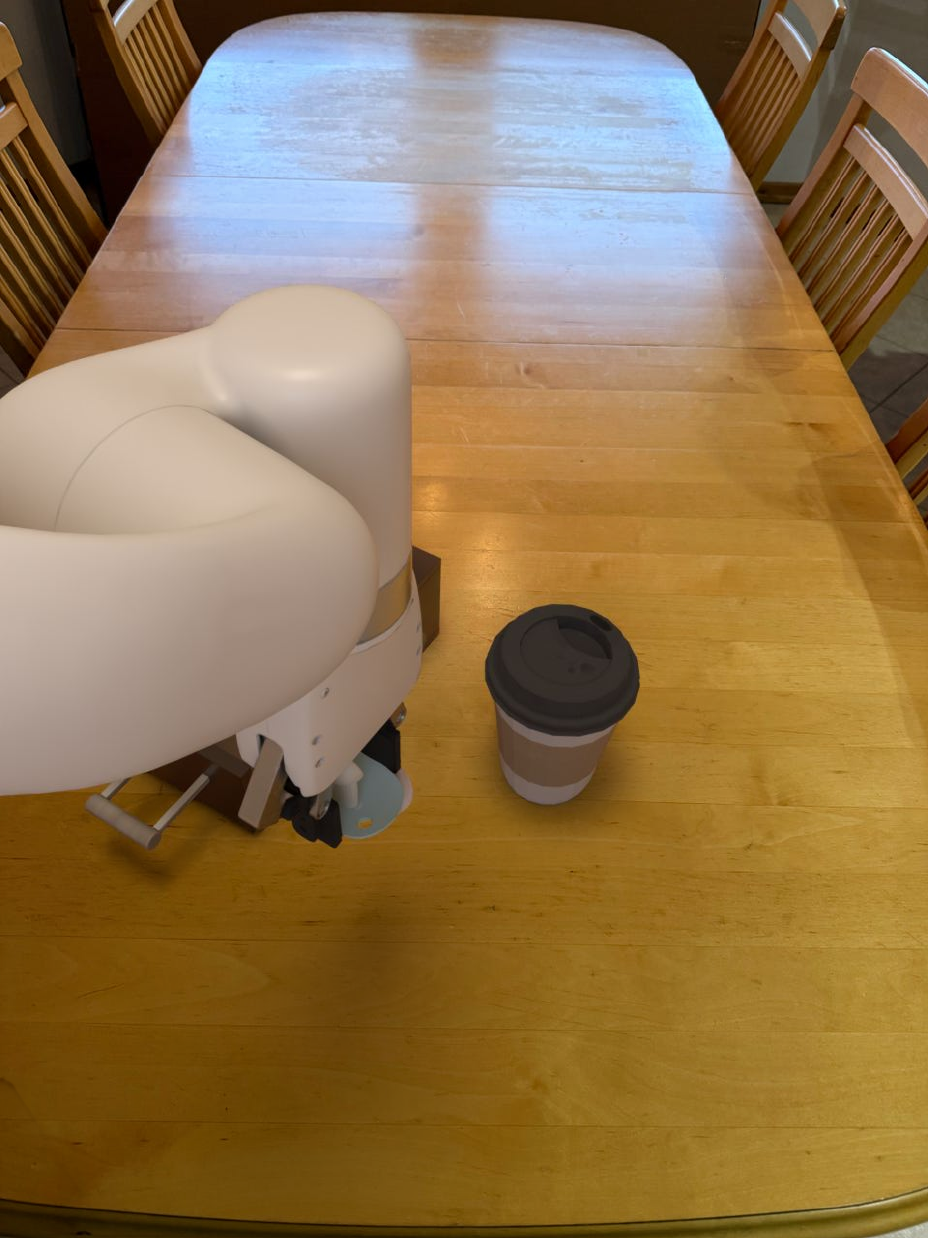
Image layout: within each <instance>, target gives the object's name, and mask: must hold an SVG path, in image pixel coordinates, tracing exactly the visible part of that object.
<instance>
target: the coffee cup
mask: <svg viewBox="0 0 928 1238" xmlns="http://www.w3.org/2000/svg"><path fill="white" fill-rule="evenodd" d="M484 660H485V661H484V682H485V684H486V686H487V689H488V691H489V693H490V695H491V699H492V700H493V704H494V714H495V724H496V733H497V742H498V751H499V760H500V761H499V762H500V768H501V769H502V772H503V776H504V777H505V779H506V782H507V784H508V785H509V786H510V788H511V789H512V790H513V792H515V794H516V795H518V796H520V797H522V798H523V799H524V800H526V801H528V802H531V803H535V804H538V805H548V806H555V805H559V804H564V803H567V802H569V801H571V800H572V799H574V798H576V797H577V796H578V795H579V794H580V793H581V792H582V791H583V790H584V789H585V788H586V786H587V785H588V783H589V782H590V781H591V779H592V777H593V775H594V773H595V771H596V768H597V767H598V764H599V763H600V760H601V758H602V756H603V754H604V753H605V751H606V748H607V746H608V744H609V742H610V740H611V738H612V736H613V734H614V731H615V730H616V728H617V725H618V723H619V722H620V721H622V720H623V719H624V718H625V717H626V715H627V714H628V713H629V712H630V710H631V709H632V708H633V707H634V705H635V704H636V701H637V698H638V693H639V690H640V686H641V681H640V680H641V679H640V678H641V675H640V668H639V667H640V666H639V660H638V657H637V654H636V653H635V650H633V647H632V646H631V643H630V642H629V640H628V639H627V638H626V637H625V636H624V634H623V633H622V630H620V628H619V627H617V626H616V625H615V624H614V623H613V622H612V621H611V620H610V619H609V618H607V617H605V616H603V615H602V614H600V613H598V612H596V611H595V610H593V609H590V608H586V607H584V606H583V607H582V606H578V605H575V604H566V603H550V604H546V605H540V606H536V607H533V608H531V609H528V610H527V611H525V612H523V613H521V614H519V615H518V616H516V618H515V619H513V620H511V621H509V622H508V623H507V624H506V625H505V626H504V627H503V628H502V629H501V630H500V631H499V632H498V633H497V634H496V635H495V636H494V638H493V640H492V643H491V645H490V647H489V650H488V651H487V656H486V658H485V659H484Z"/></svg>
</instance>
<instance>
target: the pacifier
mask: <svg viewBox="0 0 928 1238" xmlns="http://www.w3.org/2000/svg"><path fill="white" fill-rule="evenodd" d="M413 796H414V788H413V784H412V780H411V779H410V777H409V775H408V773H407V771H406V770H405V769H404V768H403V766H401V769H400V770H399V771H398V772H397V773H396V774H395V773H394V774H393V773H392V772H391V771H390V770H388V769H387V768H386V767H385V766H383V765H382V764H381V763H379V762H377V761H375V760H373V759H371V758H369V757H368V756H366V755H365V754H363V753H362V752H359V754H358V755H357V756H356V757H355V758H354V759H353V760H352V762H351V763H350V764H349V765H348V766H347V767H346V768H345V769H344V771H343V772H342V773H341V774H340V775H339V776H338V777H337V778H336V779H335V781H334V782H333V788H332V795H331V798H332V799H333V800H335V801H336V802H337V803H338V804H339V808H340V818H341V827H342V836H344V837H346V838H349V839H354V840H362V839H368V838H371V837H374V836H377V835H378V834H379V833H382V832H384V831H385V830H386V829H387V828H388V827H389V826H391V824H392V823H393V822H394V821H395V820H396V819H397V817H398V816H399V814H401V813H403V812H404V811H405V810H406V809H407V808H409V806H410V805H411V802H412V800H413ZM369 821H371V824H370V825H368V826H367V827H360V826H359V825H360V824H361V825H362V824H364V823H368V822H369Z"/></svg>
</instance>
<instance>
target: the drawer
mask: <svg viewBox="0 0 928 1238" xmlns="http://www.w3.org/2000/svg"><path fill="white" fill-rule="evenodd" d="M253 771H254V768H253V767H252V766H250V765H249V764H248V763H246V762H245V761H244V760H243V759H242V758H241V755H240V752H239V748H238V744H237V739H236V734H234V735H232V736H230V737H228V738H226V739H224V740H221V741H219V742H217V743H215V744H212V745H210V746H208V747H205V748H203V749H201V750H199V751H196V752H194V753H192V754H190V755H187V756H185V757H183V758H180V759H178V760H176V761H173V762H171V763H169V764H166V765H163V766H161V767H158V768H156V769H153V770H151V771H150V772H151V773H152V774H154V775H156V776H157V777H159V778H161V779H162V780H164V781H165V782H167V783H168V784H170V785H172V786H174V787H175V788H177V789H179V790H180V791H182V792H184V793H183V794H182V795H181V796H180V797H179V798H178V799H177V800H176V801H175V802H174V803H173V804H172V805H171V806H170V808H169V809H168V810H167V811H166V812H165V813H164V814H163V815H162V816H161V817H160V818H159V819H158V821H157V822H156V823H155V824H153V826H150V825H149V824H147V823H146V822H144V821H142V820H141V819H140V818H138V817H136V816H134V815H133V814H132V813H130V812H128V811H127V810H125V809H123V808H121V806H119V805H117V804H115V803H114V802H112V801H110V800H111V799H112V798H113V797H115V796H116V794H117V793H119V791H121V790H122V788H123V787H124V786H125V785H126V784H127V783H128V782H129V781H130V780H131V779H132V778H134V776H132V777H129V778H126V779H123V780H120V781H117V782H112V783H109V785H108V786H107V787H106V788H105V789H104V790H103V791H102V792H101V793H100V794H99V793H93V794H91V795H90V796H89V797H88V798H87V799H86V801H85V804H84V810H85V811H86V812H87V813H89V814H90V815H92V816H94V817H95V818H97V819H99V820H100V821H101V822H103V823H105V824H107V825H108V826H110V827H111V828H113V829H114V830H115V831H117V832H119V833H120V834H122V835H124V837H126V838H128V839H130V840H131V841H133V842H135V843H136V844H137V845H140V846H141V847H142V848H144V849H145V850H147V851H153V850H154V849H156V848H157V846H158V845H159V843H160V842H161V839H162V833H163V832H164V831H165V830H166V829H167V828H168V827H169V826H170V825H171V824H172V823H173V821H174V820H176V818H177V817H178V816H179V815H180V814H181V813H182V812H183V811H184V810H185V809H186V807H187V806H188V805H189V804H190V803H191V802H192V801H193V800H197V801H198V802H200V803H202V804H204V805H205V806H206V807H208V808H210V809H212V810H213V811H215V812H217V813H218V814H221V816H223V817H225V818H227V819H228V820H230V821H232V822H234V823H235V824H237V825H238V826H240V827H241V828H244V829H245V830H247V831H248V832H250V833H251V834H256V832H257V831H258V830H257V829H256V828H254V827H253V826H251V825H249V824H248V823H246V822H245V821H243V820H241V819H240V818H239V817H238V813H239V810H240V807H241V804H242V802H243V799H244V796H245V793H246V790H247V788H248V785H249V782H250V779H251V776H252V774H253Z"/></svg>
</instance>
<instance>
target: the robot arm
mask: <svg viewBox="0 0 928 1238" xmlns="http://www.w3.org/2000/svg"><path fill="white" fill-rule="evenodd" d="M412 375H413V374H412V360H411V352H410V348H409V344H408V341H407V338H406V335H405V333H404V331H403V330H402V328H401V326H400V324H399V322H398V321H397V320H396V319H395V318H394V317H393V315H392V314H391V313H390V312H389V311H388V310H387V309H386V308H385V307H383V306H382V305H380V304H379V303H378V302H376V301H374V300H373V299H370V298H369V297H366V296H364V295H362V294H361V293H358V292H356V291H352V290H350V289H346V288H342V287H339V286H332V285H325V284H313V283H309V284H305V283H304V284H303V283H301V284H289V285H282V286H277V287H271V288H268V289H264V290H261V291H258V292H256V293H253V294H251V295H248V296H246V297H244V298H242V299H240V300H238V301H236V302H235V303H234V304H232V305H231V306H229V307H228V308H227V309H226V310H225V311H223V312H222V313H221V314H220V315H219V316H218V317H217V318H216V320H214V321H213V322H212V323H211V324H209V325H206V326H203V327H201V328H196V329H193V330H190V331H186V332H184V333H180V334H177V335H173V336H172V335H171V336H168V337H164V338H160V339H155V340H152V341H147V342H144V343H140V344H135V345H132V346H127V347H123V348H117V349H114V350H110V351H106V352H101V353H97V354H93V355H89V356H86V357H82V358H79V359H78V358H77V359H75V360H72V361H68V362H65V363H62V364H60V365H57V366H55V367H51V368H49V369H47V370H44V371H42V372H40V373H38V374H36V375H33V376H31V377H30V378H29V379H27V380H25V381H23V382H21V383H20V384H18V385H17V386H15V387H13V388H11V390H10V391H8V392H7V393H6V394H4V395H3V396H2V397H1V398H0V797H1V796H2V797H3V796H19V795H39V794H40V795H41V794H49V793H60V792H67V791H76V790H77V791H78V790H83V789H87V788H88V789H89V788H92V787H96V786H102V785H106V784H111V783H112V782H117V781H120V780H123V779H126V778H129V777H132V776H133V777H135V776H138V775H142V774H145V773H148V772H151V770H153V769H156V768H158V767H161V766H163V765H166V764H169V763H171V762H173V761H176V760H178V759H180V758H183V757H185V756H187V755H190V754H192V753H194V752H196V751H199V750H201V749H203V748H205V747H208V746H210V745H212V744H215V743H217V742H219V741H221V740H224V739H226V738H228V737H230V736H232V735H234V734H236V739H237V744H238V748H239V752H240V755H241V758H242V759H243V760H244V761H245V762H246V763H248V764H249V765H250V766H252V767H253V768H254V771H253V774H252V776H251V779H250V782H249V785H248V788H247V790H246V793H245V796H244V799H243V802H242V804H241V807H240V810H239V813H238V817H239V818H240V819H241V820H243V821H245V822H246V823H248V824H249V825H251V826H253V827H254V828H256V829H257V831H262V830H264V829H267V828H269V827H271V826H273V825H275V824H277V823H279V821H280V820H282V819H284V820H285V821H287V822H290V821H291V826H292V828H293V830H294V832H295V833H297V834H298V835H299V836H300V837H302V838H304V839H305V840H306V841H308V842H311V843H316V842H317V840H319V841H320V842H322V843H323V844H325V845H327V846H329V847H330V848H332V849H337V848H338V847H339V846H340V844H341V843H342V842H343V835H342V827H341V818H340V808H339V804H338V803H337V802H336V801H335V800H333V799H332V798H331V795H332V788H333V782H334V781H335V779H336V778H337V777H338V776H339V775H340V774H341V773H342V772H343V771H344V769H345V768H346V767H347V766H348V765H349V764H350V763H351V762H352V760H353V759H354V758H355V757H356V756H357V755H358V754H359V752H362V753H363V754H365V755H366V756H368V757H369V758H371V759H373V760H375V761H377V762H379V763H381V764H382V765H383V766H385V767H386V768H387V769H388V770H390V771H391V772H392V773H393V774H394V773H395V774H396V773H397V772H398V771H399V770H400V769H401V767H402V752H401V749H402V746H401V745H402V744H401V731H400V730H399V729H397V728H399V727H400V726H401V725H402V724H403V722H404V721H405V718H406V716H407V707H406V706H405V702H404V701H405V699H406V698H407V697H408V695H409V694H410V693H411V692H412V690H413V688H414V687H415V685H416V683H417V682H418V679H419V677H420V674H421V670H422V660H423V653H422V650H423V648H424V646H425V643H426V641H427V635H426V634H424V633H422V622H421V611H420V602H419V596H418V589H417V584H416V580H415V575H414V572H413V569H412V545H413V529H412V528H413V391H412V389H413V387H412V384H413V383H412V382H413V380H412V378H413V377H412ZM133 777H132V778H133Z"/></svg>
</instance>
